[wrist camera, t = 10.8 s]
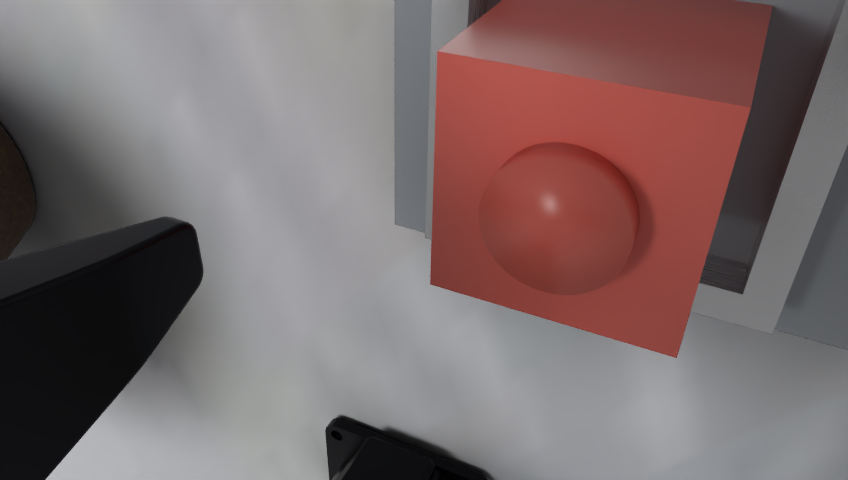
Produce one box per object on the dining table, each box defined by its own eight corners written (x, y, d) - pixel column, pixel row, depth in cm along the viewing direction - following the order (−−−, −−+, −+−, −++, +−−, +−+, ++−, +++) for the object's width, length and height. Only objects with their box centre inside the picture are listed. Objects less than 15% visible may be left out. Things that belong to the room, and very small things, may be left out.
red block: (712, 212, 16) (671, 381, 12) (516, 168, 17) (416, 303, 13) (772, 5, 13) (747, 125, 9) (536, -27, 15) (420, 64, 11)
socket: (775, 301, 16) (772, 334, 15) (444, 214, 19) (425, 237, 18) (925, -87, 12) (933, -74, 11) (459, -131, 14) (435, -122, 13)
